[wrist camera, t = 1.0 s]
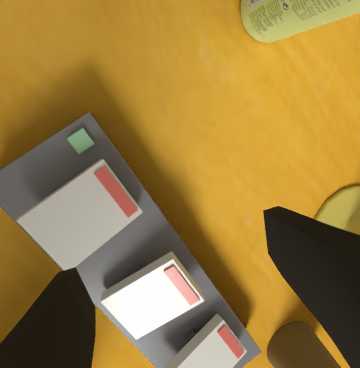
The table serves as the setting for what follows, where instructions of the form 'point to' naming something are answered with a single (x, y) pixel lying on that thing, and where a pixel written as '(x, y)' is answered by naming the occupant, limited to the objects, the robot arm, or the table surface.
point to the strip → (118, 235)
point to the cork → (298, 348)
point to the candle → (342, 210)
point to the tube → (291, 16)
